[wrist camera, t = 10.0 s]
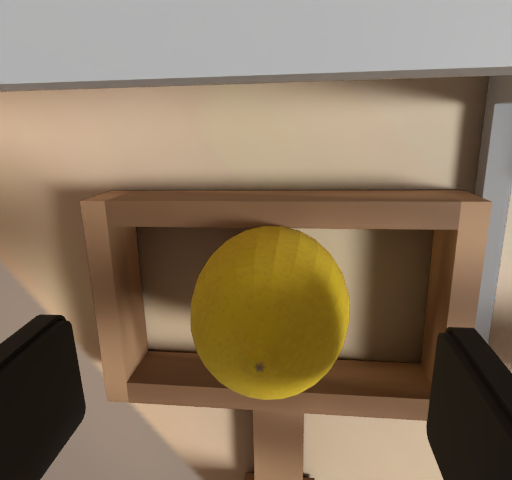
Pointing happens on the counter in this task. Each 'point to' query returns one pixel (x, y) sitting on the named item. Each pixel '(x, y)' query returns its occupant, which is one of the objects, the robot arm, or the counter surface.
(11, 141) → the counter surface
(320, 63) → the grey bench
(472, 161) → the counter surface
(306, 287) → the lemon
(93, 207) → the wooden handled tray
